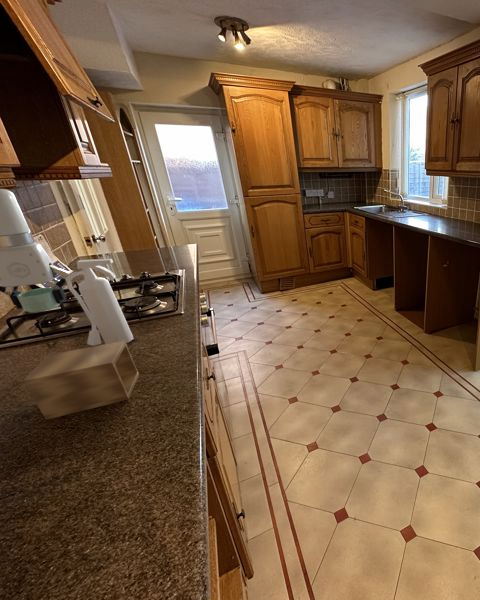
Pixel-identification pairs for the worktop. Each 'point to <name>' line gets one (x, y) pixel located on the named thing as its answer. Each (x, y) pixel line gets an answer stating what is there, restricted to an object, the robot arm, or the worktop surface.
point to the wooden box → (82, 379)
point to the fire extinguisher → (100, 303)
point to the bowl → (37, 300)
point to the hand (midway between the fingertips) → (42, 304)
